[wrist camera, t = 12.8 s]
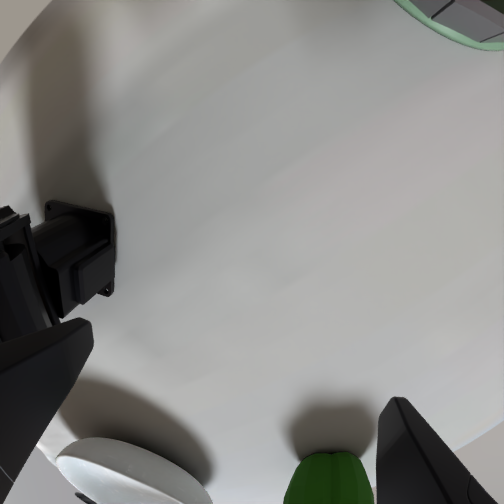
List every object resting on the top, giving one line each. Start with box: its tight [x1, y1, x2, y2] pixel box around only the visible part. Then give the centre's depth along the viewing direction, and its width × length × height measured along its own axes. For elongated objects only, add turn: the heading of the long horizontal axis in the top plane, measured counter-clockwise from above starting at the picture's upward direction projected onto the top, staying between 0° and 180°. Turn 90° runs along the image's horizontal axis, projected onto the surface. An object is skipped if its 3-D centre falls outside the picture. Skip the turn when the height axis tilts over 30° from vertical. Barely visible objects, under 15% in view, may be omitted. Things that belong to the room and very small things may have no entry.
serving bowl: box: [56, 437, 213, 504], centre depth 30 cm, size 21×21×7 cm
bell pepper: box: [283, 452, 374, 504], centre depth 22 cm, size 8×8×10 cm
